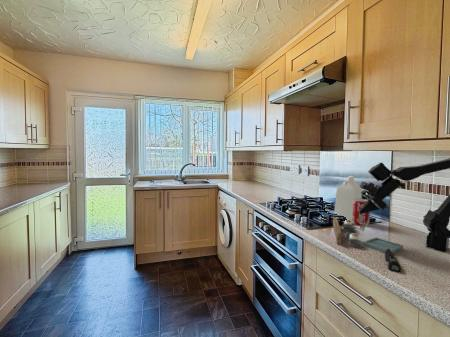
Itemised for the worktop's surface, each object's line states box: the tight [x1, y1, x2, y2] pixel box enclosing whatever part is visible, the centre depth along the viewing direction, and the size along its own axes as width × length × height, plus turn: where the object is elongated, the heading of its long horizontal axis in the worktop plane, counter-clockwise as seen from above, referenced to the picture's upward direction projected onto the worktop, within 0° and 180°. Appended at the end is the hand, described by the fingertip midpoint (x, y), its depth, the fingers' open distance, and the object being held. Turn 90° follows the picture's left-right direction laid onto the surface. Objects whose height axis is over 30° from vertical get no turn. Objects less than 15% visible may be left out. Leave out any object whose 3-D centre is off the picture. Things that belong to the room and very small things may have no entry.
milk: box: [333, 175, 363, 224], centre depth 147 cm, size 12×12×26 cm
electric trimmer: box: [384, 249, 402, 273], centre depth 92 cm, size 4×16×3 cm, turn 153°
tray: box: [362, 236, 404, 254], centre depth 106 cm, size 11×11×2 cm
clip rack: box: [332, 216, 361, 248], centre depth 121 cm, size 10×30×5 cm, turn 160°
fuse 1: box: [344, 220, 353, 225], centre depth 130 cm, size 4×4×5 cm
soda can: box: [352, 199, 371, 228], centre depth 114 cm, size 7×7×12 cm
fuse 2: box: [348, 233, 360, 244], centre depth 109 cm, size 4×4×5 cm
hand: (357, 211), depth 115 cm, fingers closed on soda can, 7 cm apart
